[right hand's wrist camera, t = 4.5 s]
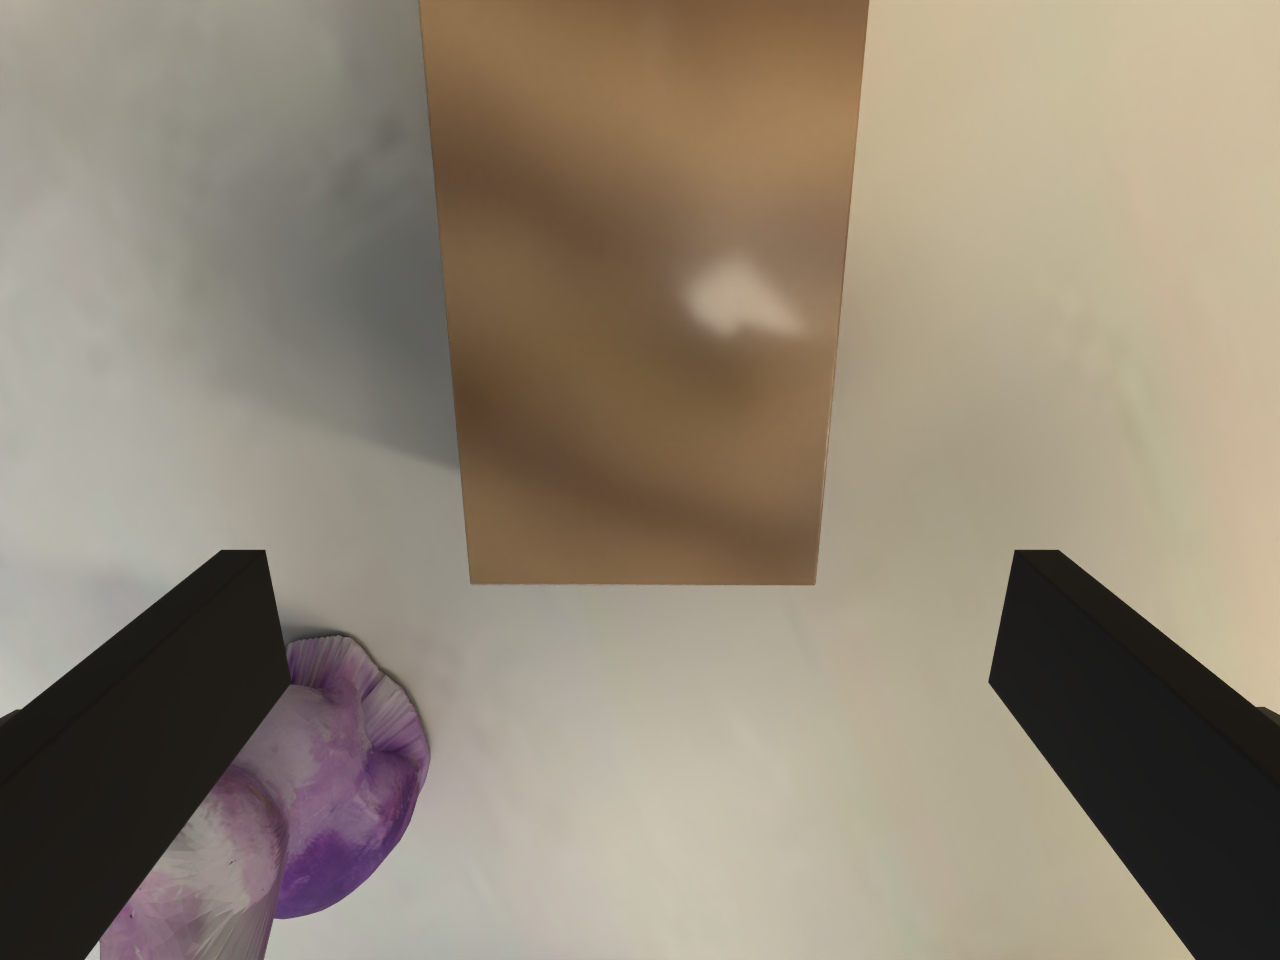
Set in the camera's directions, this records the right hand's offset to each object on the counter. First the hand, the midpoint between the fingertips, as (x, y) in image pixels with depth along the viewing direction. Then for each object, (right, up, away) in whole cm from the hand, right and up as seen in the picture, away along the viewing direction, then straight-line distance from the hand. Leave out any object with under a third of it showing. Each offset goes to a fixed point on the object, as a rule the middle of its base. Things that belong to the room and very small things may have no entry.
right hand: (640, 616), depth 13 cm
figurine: (-14, -8, +20) cm, 26 cm away
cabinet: (0, +12, +13) cm, 18 cm away
